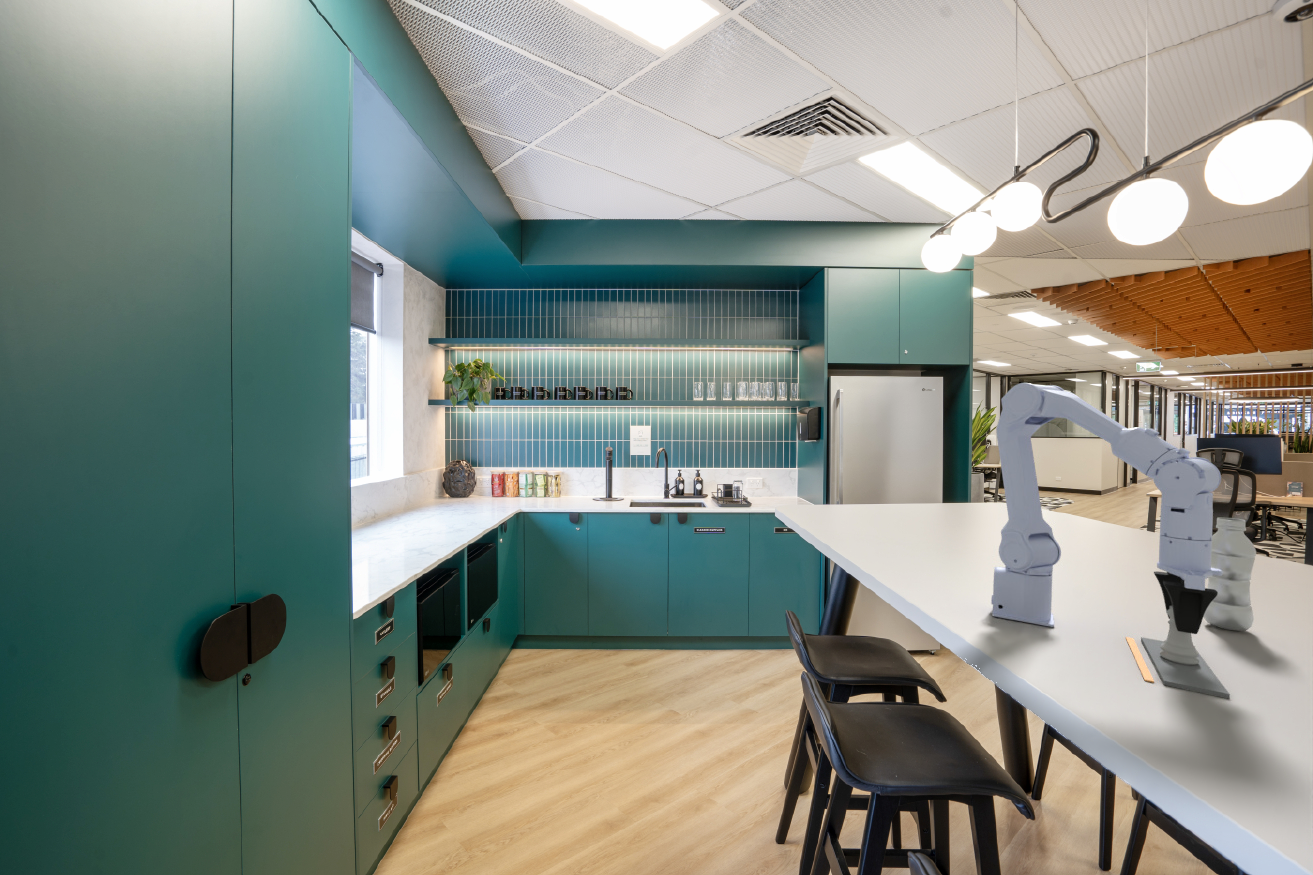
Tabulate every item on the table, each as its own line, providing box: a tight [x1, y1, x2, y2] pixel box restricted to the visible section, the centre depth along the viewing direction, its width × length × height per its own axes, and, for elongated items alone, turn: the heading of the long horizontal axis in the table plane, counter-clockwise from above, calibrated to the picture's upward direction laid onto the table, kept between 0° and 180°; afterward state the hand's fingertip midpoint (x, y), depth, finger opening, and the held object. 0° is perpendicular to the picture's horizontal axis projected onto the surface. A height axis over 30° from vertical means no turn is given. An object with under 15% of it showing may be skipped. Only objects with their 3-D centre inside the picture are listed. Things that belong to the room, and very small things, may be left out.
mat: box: [1140, 636, 1231, 699], centre depth 83 cm, size 6×20×1 cm, turn 145°
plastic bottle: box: [1203, 517, 1257, 632], centre depth 100 cm, size 6×7×20 cm
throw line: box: [1125, 636, 1155, 683], centre depth 86 cm, size 1×20×1 cm, turn 146°
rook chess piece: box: [1160, 606, 1200, 665], centre depth 84 cm, size 4×4×8 cm
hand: (1182, 625), depth 84 cm, fingers open, 6 cm apart
